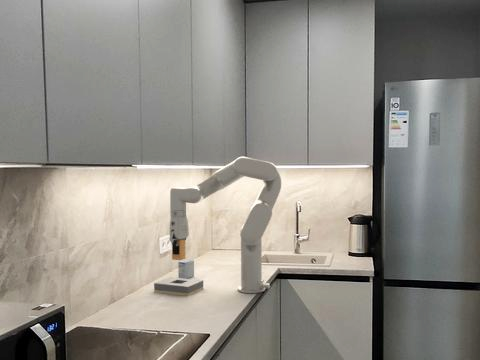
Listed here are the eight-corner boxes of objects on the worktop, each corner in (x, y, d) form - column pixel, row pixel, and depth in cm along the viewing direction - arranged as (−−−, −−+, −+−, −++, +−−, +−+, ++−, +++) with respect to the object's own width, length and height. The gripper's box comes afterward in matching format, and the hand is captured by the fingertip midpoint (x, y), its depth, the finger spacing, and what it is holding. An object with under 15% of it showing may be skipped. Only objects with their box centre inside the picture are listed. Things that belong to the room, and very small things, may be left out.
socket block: (203, 288, 227) (203, 280, 227) (188, 295, 214) (188, 286, 214) (170, 285, 235) (170, 277, 234) (154, 291, 222) (154, 283, 222)
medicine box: (187, 275, 256) (187, 259, 256) (194, 276, 254) (194, 260, 254) (178, 278, 250) (178, 261, 249) (185, 279, 247) (184, 262, 247)
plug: (185, 258, 225) (185, 237, 225) (180, 260, 221) (180, 238, 221) (177, 258, 227) (177, 236, 227) (172, 259, 223) (172, 237, 223)
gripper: (175, 215, 215) (176, 256, 215) (194, 212, 230) (194, 251, 230) (161, 215, 218) (161, 255, 218) (181, 212, 233) (181, 250, 233)
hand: (178, 253), depth 224 cm, fingers closed on plug, 4 cm apart
